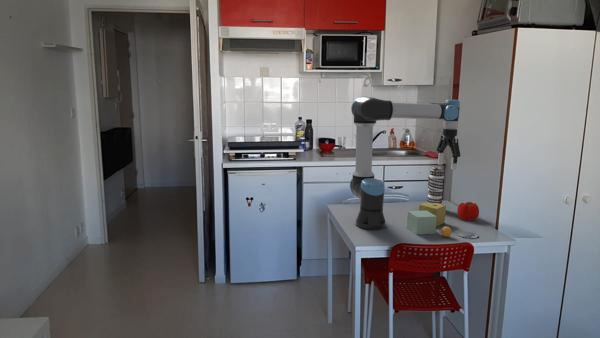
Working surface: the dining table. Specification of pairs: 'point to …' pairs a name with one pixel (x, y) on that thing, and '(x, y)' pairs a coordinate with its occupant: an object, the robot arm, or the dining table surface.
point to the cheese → (435, 211)
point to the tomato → (468, 211)
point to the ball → (446, 231)
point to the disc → (466, 234)
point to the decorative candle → (435, 185)
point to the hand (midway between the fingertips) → (446, 166)
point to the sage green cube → (421, 222)
